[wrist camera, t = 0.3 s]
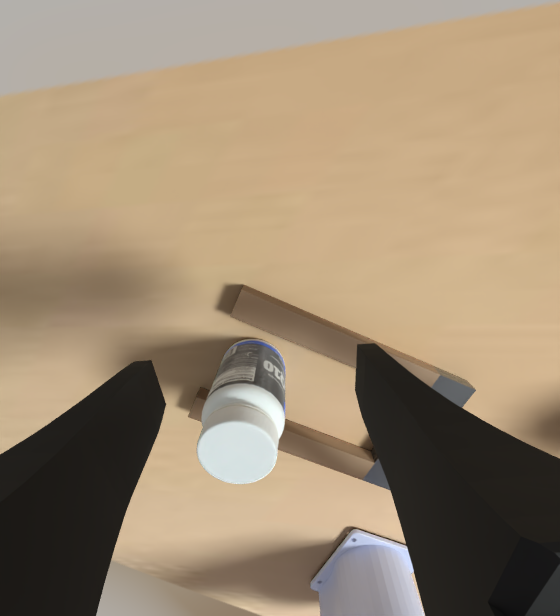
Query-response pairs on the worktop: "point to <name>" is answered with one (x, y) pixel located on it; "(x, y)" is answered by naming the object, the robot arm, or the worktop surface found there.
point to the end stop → (447, 387)
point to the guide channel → (324, 341)
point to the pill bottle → (244, 414)
